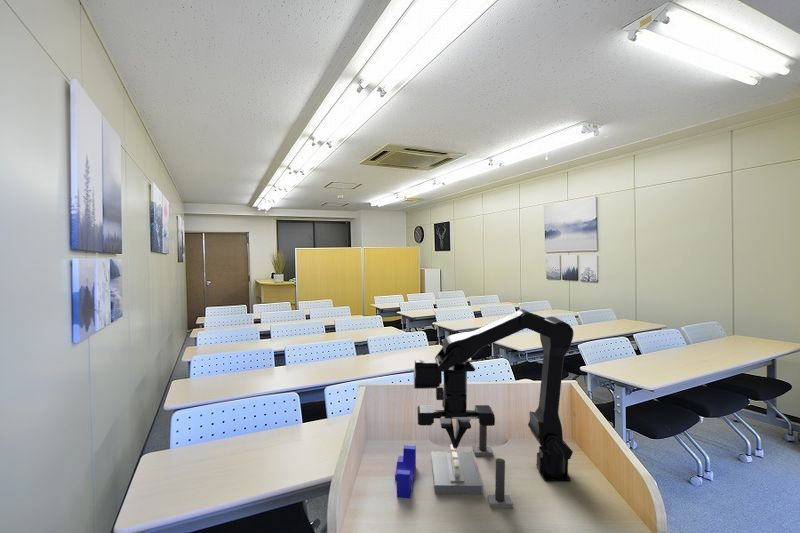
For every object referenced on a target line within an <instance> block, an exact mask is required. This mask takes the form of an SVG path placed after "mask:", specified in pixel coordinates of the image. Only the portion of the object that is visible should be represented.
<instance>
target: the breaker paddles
mask: <svg viewBox="0 0 800 533" xmlns="http://www.w3.org/2000/svg"><path fill="white" fill-rule="evenodd" d="M449 447H450V448H449V450H450V451H449V452H450V455H451V459H452V465H453V471H454V476H455V477H456V478H459V475H460V466H459V461H458V456H457V452H458V451H457V449H454V448H453V445H452V443H451V444H449Z"/></svg>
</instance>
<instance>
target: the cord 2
mask: <svg viewBox="0 0 800 533" xmlns="http://www.w3.org/2000/svg"><path fill="white" fill-rule="evenodd" d="M505 474H506V461H505V460H504V459H503V458H501V457H500V458H496V459H495V494H487V497H486V499H487V502H488V505H489V509H513V508H514V506H513V505H514V504H513V501H512V498H511V496H510V494H506V493H505V490H506V489H505V482H506V481H505V480H506V479H505V478H506V477H505V476H506V475H505Z"/></svg>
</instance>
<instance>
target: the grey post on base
mask: <svg viewBox="0 0 800 533" xmlns="http://www.w3.org/2000/svg"><path fill="white" fill-rule="evenodd" d="M478 423H479V422H478ZM478 427H479V429H478V430H479V431H478V432H479V433H478V435H479V438H478V440H479V441H478V442H479V444H478V445H477V446H476V445H475V446H472V453H473V456H475V457H493V456H494V451H493V448H492V446H487V444H488V443H487V440H488V436H487V434H488V433H487V430H488V429H487V428H488V426H482V425H481V424H480V423H479V426H478Z"/></svg>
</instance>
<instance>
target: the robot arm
mask: <svg viewBox="0 0 800 533" xmlns="http://www.w3.org/2000/svg"><path fill="white" fill-rule="evenodd" d="M526 329H527V330H530V331H532V332H535V333H537V334H539V339H540V340H539V341H540V344H541V349H542V351H543V357H542V367H541V379H540V380H541V381H540V388H539V389H540V390H539V401H538V402H539V403H538V407H537V408H536V410H535V411H531V410H530V411H529V421H528V424H527V426H528V428H529V429H530V430H529V431H530V432H531V434H532V435H533V437H534V438H535V440H536V441H537V443H538V444H539V446H538V452H537V453H536V464H535V466H536V469H537V471H538V472H539V474H540V475H541V477H542V479H543V480H544V481H545V482H547V481H548V482H553V481H554V482H570V481H571V476H570V475H569V474H568V473H569V472H568V471H569V460H571V459H572V456H573V452H574V451H573V450H572V449H571V447H570V446H569V445H568V444H567V443H566V441H564V435H563V427H562V426H563V425H562V423H561V419H560V415H559V409H560V398H561V391H562V390H561V388H562V379H563V378H562V377H563V367H564V359H565V356H566V355H567V353H568V352H569V350H570V348H571V346H572V342H573V338H574V329H573V327H572V326H571V325H570V324H569V323H567V322H565V321H564V320H562V319H559V318H557V317H555V316H548V317H544V316H541V315H538V314H535V313H533V312H529V311H528V310H526V309H522V308H521V309H518V310H516V311H515V312H513V313H511V314H508V315H507V316H504V317H502V318H500V319H497V320H495V321H493V322H491V323H488V324H486V325H484V326H482V327H479V328H477V329H475V330H472V331H465V332H459V333H455V334H454V333H453V334H451V335H448V336H447V337H444V339H443V342H442V347H441V349H440V350H439V351H438V353H437V354H436V355H435V357H434V360H422V359H415V360H414V369H413V387H414V389H415V390H416V389H419V390H422V389H424V390H426V389H435V399H436V400H437V401H442V405H441V406H442V408H443V409H436V410H435V409H434V406H433V405H432V404H419V405H418V406H417V408H416V409H417V410H416V411H417V412H416V413H417V425H418V426H432V425H433V424H434V423H435V420H436V419H439V422H440V428H441V429H443V430H444V429H445V431H446V432H447V434H448V437H449V439H450V442H451V444H452V445H453V448H454V449H456V450H457V449H458V446H459V445H460V443H461V440H462V438H463V437H464V435H465V433H466V432H467V430H470V429H472V425H471V420H472V419H473V420H475V419H476V420H478V423H480V424H481V425H482V426H487V427H489V426H490V427H491V426H492V427H494V426H495V425H496V424H495V423H496V417H495V413H494V411H493V410H492V407H491V406H490V404H483V405H482V404H479V405H478V404H476V405H475V406H474V410H471V409H470V410H468V409H467V405H468V403H467V401H468V400H467V399H468V398H467V396H468V395H467V394H468V393H467V392H468V390H467V388H468V383H467V382H468V372H469V373H470V372H475V371H476V368H475V366H474V365H473V363H471V362H470V359H471V358H472V357H474V356H476V354H477V353H478V352H479V351H480V350H481V349H483V348H485V347H487V346H490V345H492V344H494V343H496V342H498V341H501V340H503V339H505V338H507V337H510V336H511V335H514V334H517V333H518V332H520V331H523V330H526ZM442 377H443V378H442ZM442 381H443V382H442ZM442 383H443V387H442V386H441V385H442ZM453 419H455V421H456V425H455V430H454V423H453Z"/></svg>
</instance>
